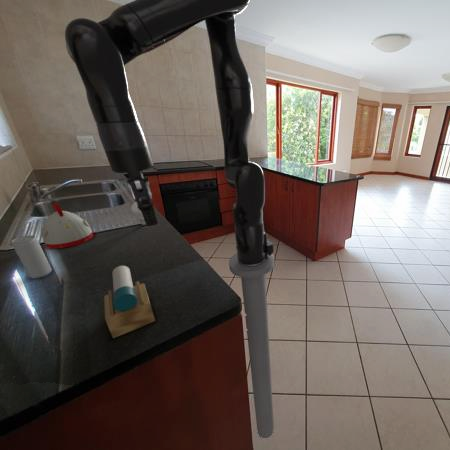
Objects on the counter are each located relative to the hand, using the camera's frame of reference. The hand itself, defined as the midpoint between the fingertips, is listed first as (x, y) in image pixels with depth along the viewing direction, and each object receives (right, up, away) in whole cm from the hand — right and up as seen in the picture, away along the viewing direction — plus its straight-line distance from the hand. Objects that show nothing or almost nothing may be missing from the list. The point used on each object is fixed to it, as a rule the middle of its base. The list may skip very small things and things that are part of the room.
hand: (151, 219), depth 55 cm
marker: (-7, -16, 0) cm, 17 cm away
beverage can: (-44, -16, +16) cm, 49 cm away
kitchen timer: (-55, -7, +37) cm, 67 cm away
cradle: (-5, -23, +1) cm, 24 cm away
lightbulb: (-35, -1, +52) cm, 63 cm away
